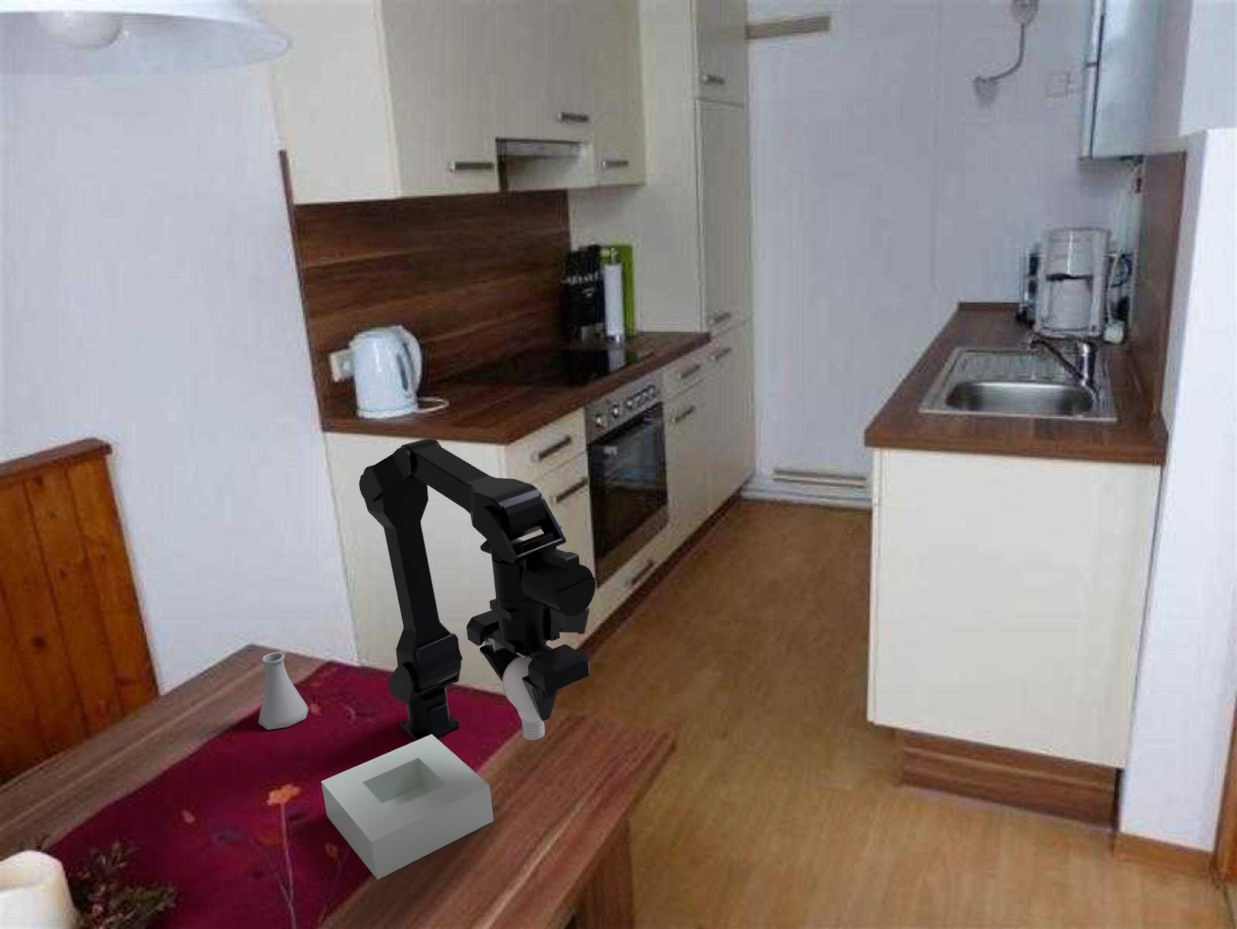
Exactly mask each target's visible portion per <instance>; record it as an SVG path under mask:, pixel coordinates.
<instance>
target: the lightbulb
mask: <svg viewBox="0 0 1237 929" xmlns="http://www.w3.org/2000/svg"><path fill="white" fill-rule="evenodd" d="M531 660H532V659H531V658H530V657H527V658H522V657H521V656H520V657H518V658H516V659H514V660H513V661H512V662H511V663H510V664H509V665H508V666H507V668H506V669H505V672H504V674H503V679H502V681H501V684H502V690H503V694H504V695H505V697H506V698H507V700H508V702H510V703H511V704H512V705H513V706H514V707H515V708H516V711H517V713H518V716H519V718H520V719H521V725H522V735H523V736H522V737H523V738H524V739H526V740H530V741H537V740H539V739H541V738H543V737H544V736H545V733H546V731H545V730H546V729H545V721H542V720H541V719H540V717H539V715H538V713H537V711H536V709H535V707H534V705H533V702H532V700H531V698H530V696H529V694H528V691H527V689H526V687H525V685H524V683H523V681H522V678H523V677H525V676H528V665H529V663H530V662H531Z"/></svg>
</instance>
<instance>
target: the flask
mask: <svg viewBox="0 0 1237 929" xmlns="http://www.w3.org/2000/svg"><path fill="white" fill-rule="evenodd" d="M285 657H286V656H285V653H283V652H281V651H276V652H270V653H268V654H266V655H263V656H262V658H261V663H262V664H263V665H264V669H265V684H264V685H265V686H264V692H263V698H262V704H261V707H260V711H259V717H258V724H259V725H260V726H262V727H263V728H265V729H266V730H267V731H268V730H275V729H281V728H283V729H284V728H288V727H291V726H292V725H295V724H297V723H299V722H301V721H304V720H305V719H307V716H308V712H309V707H308V705H307V704H306V701H304V699H303V697H302V695H300V693H299V691H298V690H297V688H296V687H295V685H294V684H293V682H292V680H291V679H290V676H289V675H288V672H287V670H286V667H285V663H284V660H285Z"/></svg>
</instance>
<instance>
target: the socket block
mask: <svg viewBox="0 0 1237 929" xmlns="http://www.w3.org/2000/svg"><path fill="white" fill-rule="evenodd" d="M320 782H321V789H322V793H323V799H324V806H325V812H326V817H327V818H328V819H329V820H330V822H331V823H332V824H333V826H334V827H335V828H336V829H337V831H338V832H339V833H340V834H341V836H342V837H343V838H344V839H345V841H346V842H347V844H348V845H349V846H350V847H351V848H352V850H353V851H354V852H355V853H356V854H357V856H358V857H359V859H361V861H362V862H363V864H364V865H365V866H366V867H367V869H368V870H369V871H370V872H371V873H372V875H373V876H374V877H375V879H376V880H378V881H379V880H380V879H382V878H384V877H386V876H388V875H390V874H392V873H394V872H396V871H397V870H399V869H402V868H404V867H406V866H408V865H410V864H412V863H414V862H415V861H417V860H420V859H421V858H423V857H425V856H427V855H430V854H432V853H434V852H435V851H437V850H440V849H441V848H443V847H446V846H448V845H449V844H452V843H453V842H455V841H457V840H459V839H461V838H463V837H465V836H467V835H469V834H472V833H473V832H475V831H477V830H479V829H481V828H483V827H484V826H486V825H488V824H490V823H493V822H494V813H493V812H494V811H493V806H492V805H493V804H492V796H491V786H490V784H489V783H488V782H486V781H485V780H484V779H483V778H482V777H481V776H479V774H477V773H476V772H475V771H474V770H473V769H472V768H471V767H470V766H469V765H467V764H466V763H465V762H464V761H462V760H461V758H460V757H458V756H457V755H456V754H455V753H454V752H453V751H452V750H451V749H449V748H448V747H447V746H446V745H444V744H443V743H442V742H441V741H440V740H439V739H438V737H434V736H433V735H432V734H431V735H429V736H426V737H424V738H422V739H419V740H417V741H416V740H415V741H412V742H409V743H407V744H406V745H403V746H400V747H398V748H396V749H394V750H391V751H390V752H386V753H384V754H382V755H380V756H378V757H377V756H376V757H374V758H373V759H370V760H367V761H366V762H363V763H361V764H359V765H357V766H354V767H351V768H349V769H347V770H345V771H342V772H340V773H337V774H335V775H332V776H331V777H328V778H326V779H324V780H321V781H320Z"/></svg>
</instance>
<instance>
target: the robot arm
mask: <svg viewBox="0 0 1237 929" xmlns="http://www.w3.org/2000/svg"><path fill="white" fill-rule="evenodd" d="M359 478H360V479H359V482H358V487H359V491H360V494H361V497H362V498H363V501H364V503H365V506H366V510H367V512H368V513H369V514H370V515H371V516H372V517H373V518H374V519H375V520H376V521H377V523H379V524H380V526H382V528H383V531H384V536H385V541H386V546H387V551H388V556H389V560H390V561H389V562H390V566H391V571H392V576H393V581H394V586H395V591H396V596H397V601H398V606H399V610H400V616H401V620H402V626H403V629H402V631H401V634H400V636H399V639H398V642H397V645H396V648H395V654H396V662H397V663H396V664H397V666H396V668H395V669H394V670H393V672H392V674H391V675H390V676H389V677H388V679H387V680H386V682H387V686H388V688H389V693H390V695H391V696H392V697H394V698H395V699H397V700H399V701H401V702H402V703H404V704H405V705H406V709H407V717H408V719H406V720H405V719H404V720H403V721H401V722H400V727H401V728H402V729H403V730H404V731H405V732H407V734H409V736H410V737H411V738H413V740H415V741H417V740H419V739H422V738H424V737H426V736H429V735H431V734H432V735H433V736H434V737H435V738H438V737H440V736H442V735H445V734H447V733H449V732H452V731H454V730H455V729H458V728H460V727H461V723H460V722H459V721H458V720H457V719H456V718H455V717H453V716H452V715H451V714H450V709H449V702H448V701H449V700H448V695H447V694H448V693H447V687H448V686H451V685H453V684H457V683H458V682H459V681H460V675H461V674H460V673H461V669H462V661H463V658H464V657H463V656H462V653H461V650H460V644H459V638H458V635H456V633H454V632H453V633H452V632H450V631H449V630H448V628H446V626H444V624H443V623H442V622H441V621H440V616H439V610H438V606H437V599H436V596H435V589H434V585H433V580H432V575H431V569H430V564H429V559H428V553H427V548H426V543H425V538H424V537H425V536H424V532H423V527H422V519H423V516H424V513H425V510H426V508H427V506H428V503H429V491H428V490H429V488H428V487H430V488H431V489H433V490H434V491H436V492H438V493H439V494H441V495H442V496H444V497H445V498H446V499H448V500H450V501H452V502H453V503H454V504H456V505H457V506H459V507H460V508H462V509H464V510H465V511H466V512H467V513H468V514H469V515H470V521H471V524H472V525H471V526H472V527H473V528H474V529H475V530H476V531H477V532H478V533H479V534H480V535H481V536H482V537H484V538H485V541H484V542H483V543H482V544H480V547H479V548H480V551H482V552H483V553H487V554H489V555H491V556H490V557H491V564H492V574H493V584H494V592H495V598H493V599H491V600H489V601H488V602H489V609H490V610H488V611H485V612H482V613H479V614H476V615H475V616H471V618H470V619H469V621H467V622H468V623H467V624H466V635H467V640H468V641H470V642H471V643H473V644H474V645H475V646H477V647H479V646H480V647H479V652H480V653H481V654H482V655H483V656H484V658H485V659H486V661H487V662H488V664H489V665H490V667H491V668H492V669H493V671H494V672H495V674H496V676H497V677H498V678H499V680H500V681H501V682H502V679H503V674H504V672H505V669H506V668H507V666H508V665H509V664H510V663H511V662H512V661H513V660H514V659H516V658H518V657H520V656H521V657H522V658H527V657H530V658H531V659H532V660H531V662H530V663H529V665H528V676H525V677H523V678H522V681H523V683H524V685H525V687H526V689H527V691H528V694H529V696H530V698H531V700H532V702H533V705H534V707H535V709H536V711H537V713H538V715H539V717H540V719H541V720H542V721H544V722H546V721H547V720H549V719H551V716H552V712H553V708H554V706H555V701H556V698H557V696H558V695H557V694H558V692H559V689H562V688H564V687H567V686H569V685H571V684H573V683H576V682H578V681H580V680H583V679H586V678H587V677H589V676H590V675H591V669H590V668H591V664H590V658H589V657H588V656H586V655H585V654H584V653H582V652H580V651H578V650H577V649H575V648H573V647H571V646H570V645H569V644H567V643H564V644H560V645H559V646H557V647H554V648H552V647H551V646H549V645H547V642H548V641H550V642H555V641H556V640H559V639H561V634H560V633H563V634H565V633H567V634H568V633H569V634H573V633H577V635H584V634H585V633H586V630H587V625H588V620H589V616H590V610H591V609H590V607H589V606H590V604H591V603H592V601H593V598H594V596H595V592H596V577H594V575H593V573H592V571H591V569H590V568H589V567H587V566H586V565H584V564H580V555H579V554H578V553H576V552H572V551H565V550H561V549H558V547H560V546H562V545H564V544H566V543H567V539H566V536H565V535H564V533H563V530H562V527H563V526H562V525H561V524H560V523H559V521H558V520H557V518H555V515H554V514H553V512H552V510H551V508H550V506H549V505H548V502H547V501H546V499H545V497H544V496H543V493H542V492H541V491H540V490H539V489H538V487H535V485H533V484H531V483H528V482H525V481H522V480H519V479H516V478H508V477H507V478H504V477H495V476H492V475H489V474H488V473H487V472H484V471H483V470H481V469H480V468H477V466H474V465H473V464H471V463H469V462H467V461H466V460H464V459H462V458H461V457H459V456H457V455H456V454H454V453H452V452H451V451H449V450H447V449H446V448H444V447H442V445H441V444H440V442H439V441H438V440H437V439H436V438H429V437H427V438H424V439H420V440H415V441H411V442H409V443H405V444H402V445H401V446H399V447H398V448H396V449H395V450H394V452H392V453H391V454H390V455H388V456H387V457H385V458H383V459H381V460H380V461H378V462H377V463H374V464H372V465H368V466H366V467H365V468H364V470H363V473H362V474H361V475H360V477H359ZM540 530H541V531H542V532H543V533H541V534H537V535H536V536H533V537H530V538H528V539H525V540H522V539H520V538H522V537H525V536H528V535H531V534H534V533H536V532H538V531H540ZM483 644H484V645H483Z"/></svg>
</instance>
